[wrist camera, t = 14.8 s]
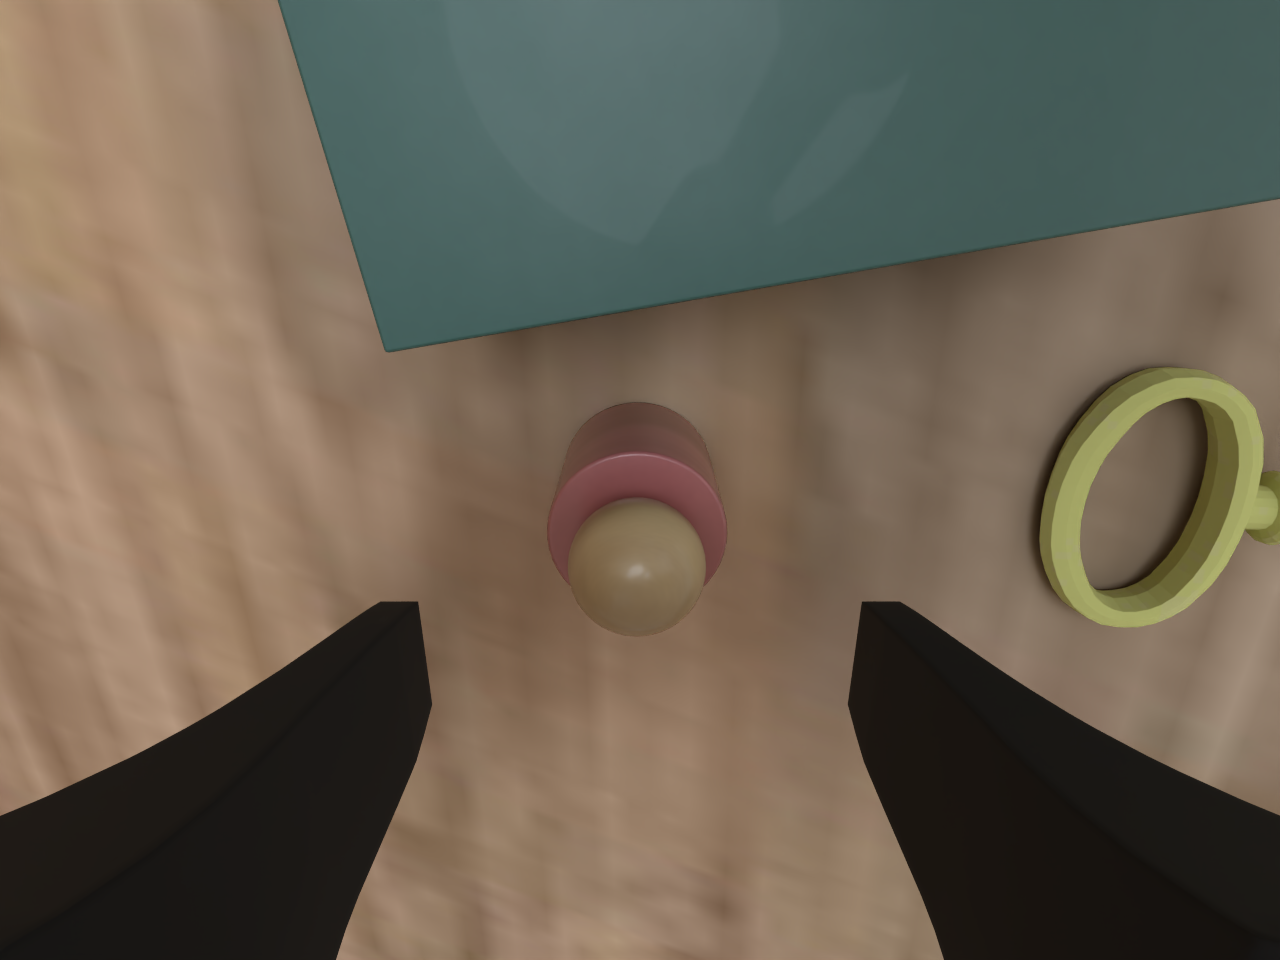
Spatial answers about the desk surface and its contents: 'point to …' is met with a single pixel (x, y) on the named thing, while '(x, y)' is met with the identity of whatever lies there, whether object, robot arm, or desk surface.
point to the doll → (637, 519)
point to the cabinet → (759, 139)
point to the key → (1219, 516)
